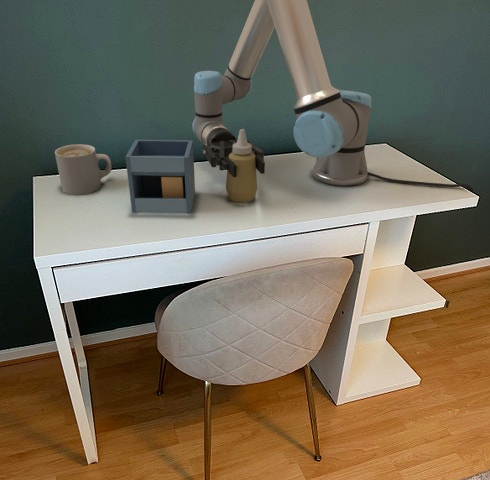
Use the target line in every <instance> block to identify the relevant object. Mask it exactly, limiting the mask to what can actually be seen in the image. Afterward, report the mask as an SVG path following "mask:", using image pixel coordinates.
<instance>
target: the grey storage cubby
mask: <svg viewBox="0 0 490 480" xmlns="http://www.w3.org/2000/svg"><path fill="white" fill-rule="evenodd" d="M194 157H195V156H194V140H193V139H134V141H133V143H132V145H131V146H130V148H129V150H128V152H127V153H126V155H125V165H126V173H127V182H128V189H129V198H130V207H131V213H141V214H142V213H146V214H147V213H151V214H153V213H154V214H192V211H193V206H194V201H195V197H196V181H195V180H196V178H195V158H194ZM161 176H185V190H186V198H163V194H162V182H161Z"/></svg>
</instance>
